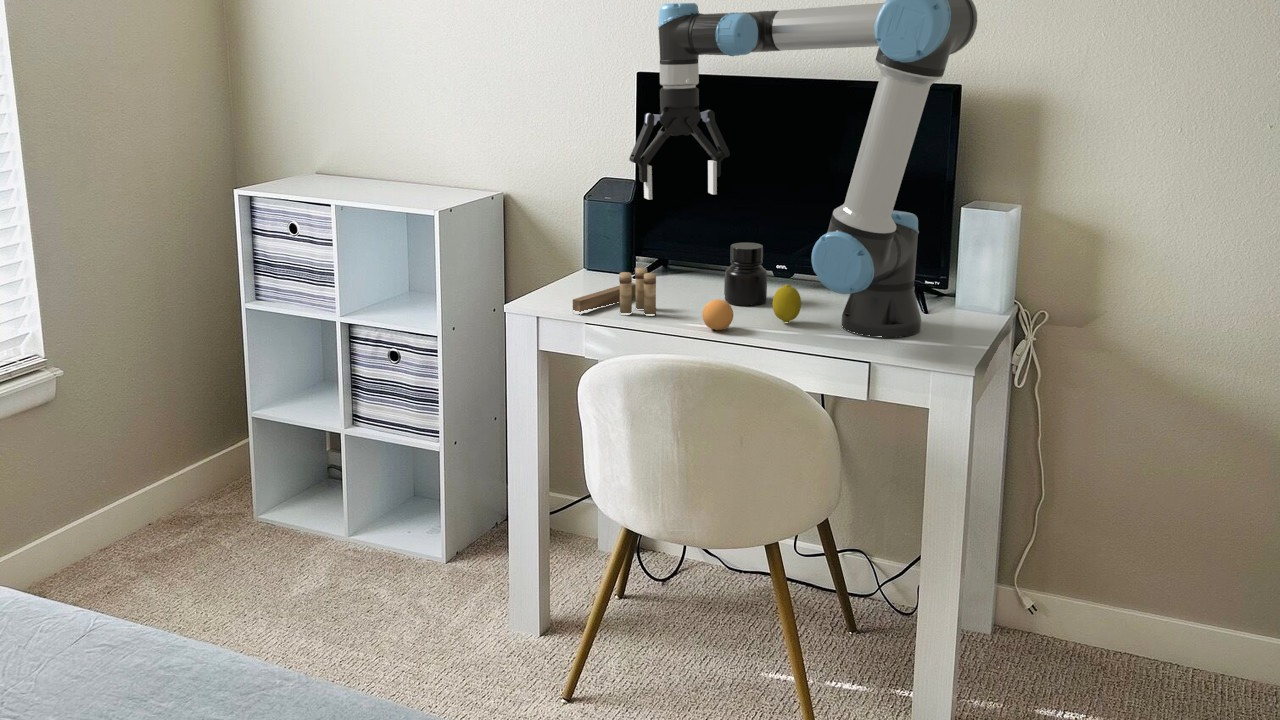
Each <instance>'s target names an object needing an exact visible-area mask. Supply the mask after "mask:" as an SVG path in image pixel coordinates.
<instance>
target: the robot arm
mask: <svg viewBox="0 0 1280 720" xmlns="http://www.w3.org/2000/svg"><path fill="white" fill-rule="evenodd" d="M658 11H659V12H658V15H659V16H658V26H657V29H658V42H659V85H660V86H662V87H661V88H660V89H659V100H660V101H659V107H660V108H659V109H660V110H659V114H654V113H653V114H652V113H650V112H646V113H645V114H644V118H643V119H644V121H643V126H642V128H641V130H640V133H639V135H638V137H637V140H636V142H635V144H634V146H633V149H632V151H631V153H630V156H629V161H630V162H631V163H634V164H635V165H636V164H637V165H638V169H639V170H638V174H639V175H638V176H639V177H638V180H639V182H641V183H643V198H644V199H646V200H653V175H652V174H653V170H652V169H653V166H652V165H650V164H649V163H650V162H651V160H652V159H653V158H654V156H655V155H656V154H657V152H658V151H659V150H660V148H661V147H662V145H663V144H664V143H665V142H666V140H667V139H669V138H670V136H673V137H678V136H682V135H683V136H690V135H692V136H693V138H695V140H696V141H697V142H698V143H699V144H700V146H701V147H702V148H703V149H704V151H706V153H707V154H708V155H709V157H710V158H711V159H710V160H707V193H708V194H710V195H714V196H715V195H718V192H717V191H718V189H717V187H718V183H717V182H718V181H717V180H718V179H717V178H719V177H721V175H722V171H721V170H722V169H721V167H722V161H723V160H724V159H725V158H728V157H730V155H731V153H730V150H729V148H728V146H727V143H726V142H725V139H724V137H723V135H722V132H721V131H720V129H719V126H718V125H717V122H716V117H715V116H716V115H715V112H714V111H713V110H711V109H705V110H704V111H701V112H700V109H699V108H700V107H699V106H700V99H699V98H700V95H699V93H700V91H699V90H700V89H699V88H698V86H697V85H698V84H699V83H700V81H699V79H700V77H699V73H700V71H699V70H700V69H699V60H700V59H699V56H702V55H703V56H706V55H707V56H708V55H710V56H729V57H735V56H737V57H739V56H746V55H749V54H751V53H763V52H764V53H765V52H766V53H769V52H779V51H801V50H802V51H803V50H804V51H805V50H820V49H821V50H823V49H824V50H825V49H846V48H869V47H870V48H871V47H874V48H875V47H878V48H877V49H878V50H877V52H876V57H875V60H874V62H875V63H876V65H877V67H878V69H879V70H880V75H879V80H878V83H877V86H876V90H875V94H874V97H873V100H872V104H871V108H870V110H869V115H868V118H867V121H866V126H865V128H864V132H863V136H862V138H861V143H860V145H859V146H860V147H859V150H858V153H857V156H856V161H855V164H854V168H853V170H852V171H853V172H852V175H851V178H850V183H849V186H848V188H847V192H846V196H845V200H844V203H843V204H841V205H840V206H837V207H836V208H834V209H833V211H832V214H831V218H830V220H829V221H830V222H829V226H828V229H827V232H826V233H825V234H822V236H820V237H819V239H818V240H817V241H816V242H815V244H814V246H813V247H812V252H811V266H812V269H813V272H814V273H815V275H816V277H817V279H818V281H819V282H820V283H821V284H822V285H823V286H824V287H825V288H826V289H828V290H830V291H831V292H834V293H835V294H836V293H837V294H840V295H841V294H842V295H848V298H847V301H846V303H845V306H844V309H843V312H842V315H841V327H842V326H843V327H842V329H844V328H845V329H846V330H845V329H844V330H845V331H847V330H849V331H851V332H855V333H858V334H863V335H870V336H882V337H896V338H901V337H900V336H905V337H909V336H908V335H910V336H913V335H912V334H914V335H915V334H918V333H919V332H920V331H921V328H922V327H921V326H922V325H921V324H922V317H921V312H920V308H919V306H918V302H917V298H916V297H917V296H916V293H915V278H916V265H917V254H918V253H917V252H918V251H917V250H918V238H919V233H920V231H919V219H918V216H917V215H916V214H914V213H911V212H907V211H901V210H895V209H894V207H895V205H896V201H897V197H898V194H899V191H900V188H901V184H902V181H903V177H904V174H905V171H906V167H907V164H908V162H909V158H910V155H911V151H912V148H913V145H914V142H915V139H916V135H917V132H918V128H919V126H920V125H919V124H920V122H921V118H922V115H923V112H924V108H925V105H926V102H927V98H928V95H929V91H930V89H931V88H930V87H931V86H932V85H933V84H934V83H936V82H937V81H939V80H940V79H943V77H944V74H945V70H946V67H947V64H948V61H949V58H950V56H951V55H953V54H955V53H958V52H959V51H961V50H963V49H964V48H965V47H966V46H967V45H968V44H969V43H970V42H971V40H972V39H973V37H974V35H975V32H976V30H977V27H978V26H977V25H978V12H977V8H976V5H975V3H974V1H973V0H885V1H884V2H878V3H865V4H851V5H849V4H848V5H836V6H835V5H834V6H833V5H832V6H822V7H821V6H820V7H809V8H808V7H807V8H793V9H781V10H760V11H749V12H745V11H744V12H723V13H722V12H721V13H720V12H719V13H716V12H715V13H700V11H699V6H698V4H697V3H695V2H679V3H677V2H676V3H664V4H662V5H661V6H660V7H659V10H658ZM696 86H697V87H696ZM701 119H702V122H704V123H705V125H706V127H707V130H708V133H709V134H710V136H711V138H712V140H713V142H714V145H715V147H716V148H717V149H716V148H715V147H714V145H713V144H712V143H711V142H710V141H709V139H708V138H707V137H706V135H704V133H703V131H702V130H701V129H700V127H698V124H699V122H700V121H701ZM658 122H659V123H660V125H661V128H659V130H658V131H657V134H656V135H655V137H654V139H653V140H652V141H651V142H650V144H649V145H648V146H647V148H646V145H647V143H648V141H649V139H650V136H651V134H652V132H653V129H654V126H656V125H657V123H658ZM849 331H848V332H849ZM851 332H850V333H851ZM858 334H857V335H858ZM863 335H862V336H863Z"/></svg>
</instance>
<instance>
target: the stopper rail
mask: <svg viewBox="0 0 1280 720" xmlns="http://www.w3.org/2000/svg"><path fill="white" fill-rule="evenodd" d="M633 298H634V299H636V283H633V282H632V300H634V299H633ZM617 302H620V285H615V286H613V287H610V288H607V289H604V290H599V291H597V292H593V293H590V294H586V295H583V296H580V297H577V298H573V299H572V311H573V310H575V311H579V312H581V311H584V310H588V309H593V308H597V307H601V306H606V305H609V304H613V303H617Z"/></svg>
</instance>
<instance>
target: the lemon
mask: <svg viewBox="0 0 1280 720" xmlns="http://www.w3.org/2000/svg"><path fill="white" fill-rule="evenodd" d="M801 300H802V299H801V294H800V293H799V291H798V290H797V288H795V287H793V286H791V285H790V284H788V283H786V284H785V285H784V286H781V287H779V288H778V289H777V290H776V291H775V293H774V296H773V299H772V309H773V310H772V311H773V313H774V315H775V317H776V318H777V319H778V320H781V321H782V322H783V323H784V322H788V323H789V322H790V321H793V320H795V318H797V317H798V315H799V314H800V312H801V309H802V302H801Z"/></svg>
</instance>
